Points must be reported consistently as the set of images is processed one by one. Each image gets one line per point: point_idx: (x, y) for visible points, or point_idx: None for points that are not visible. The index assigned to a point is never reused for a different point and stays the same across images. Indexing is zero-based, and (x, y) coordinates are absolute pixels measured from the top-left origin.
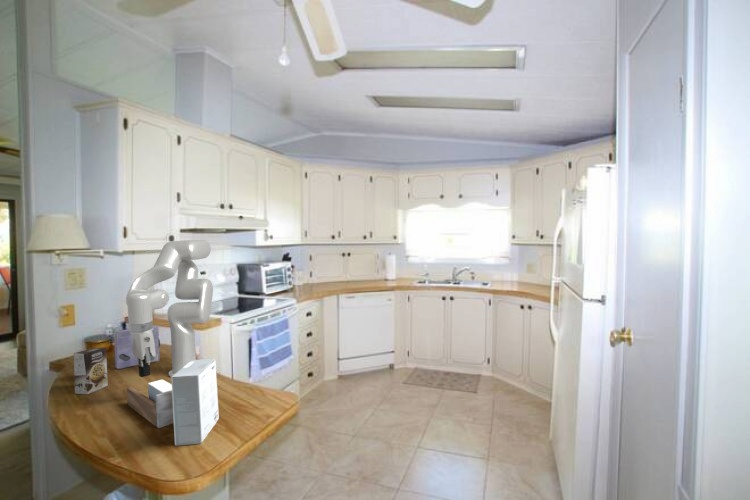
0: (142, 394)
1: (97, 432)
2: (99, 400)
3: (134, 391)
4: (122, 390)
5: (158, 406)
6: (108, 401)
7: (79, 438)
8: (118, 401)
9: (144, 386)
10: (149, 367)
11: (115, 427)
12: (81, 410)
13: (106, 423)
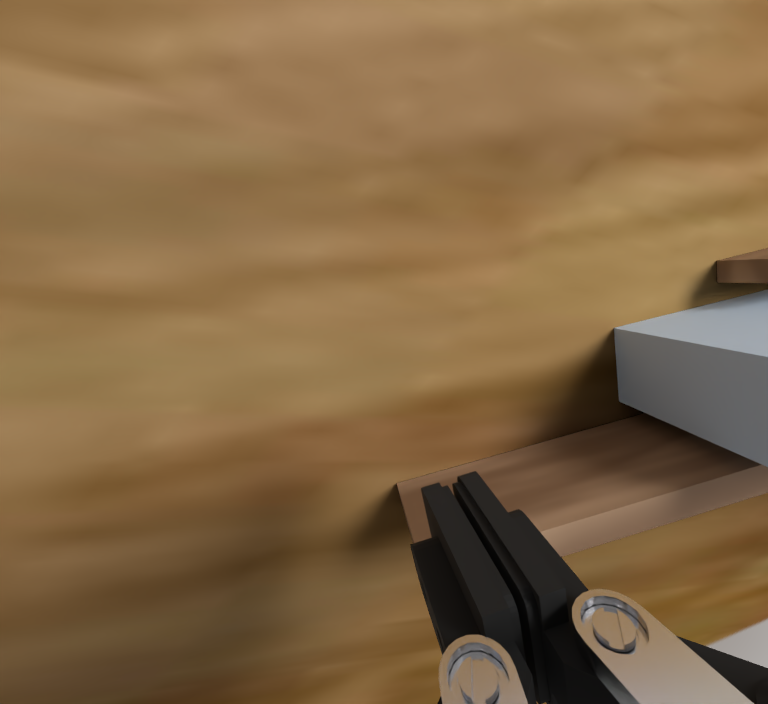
0: (695, 487)
1: (679, 596)
2: (202, 649)
3: (577, 540)
4: (54, 547)
5: None
6: (261, 602)
7: None
8: (304, 553)
9: (44, 406)
10: (527, 544)
11: (686, 538)
12: (325, 701)
13: (607, 575)
